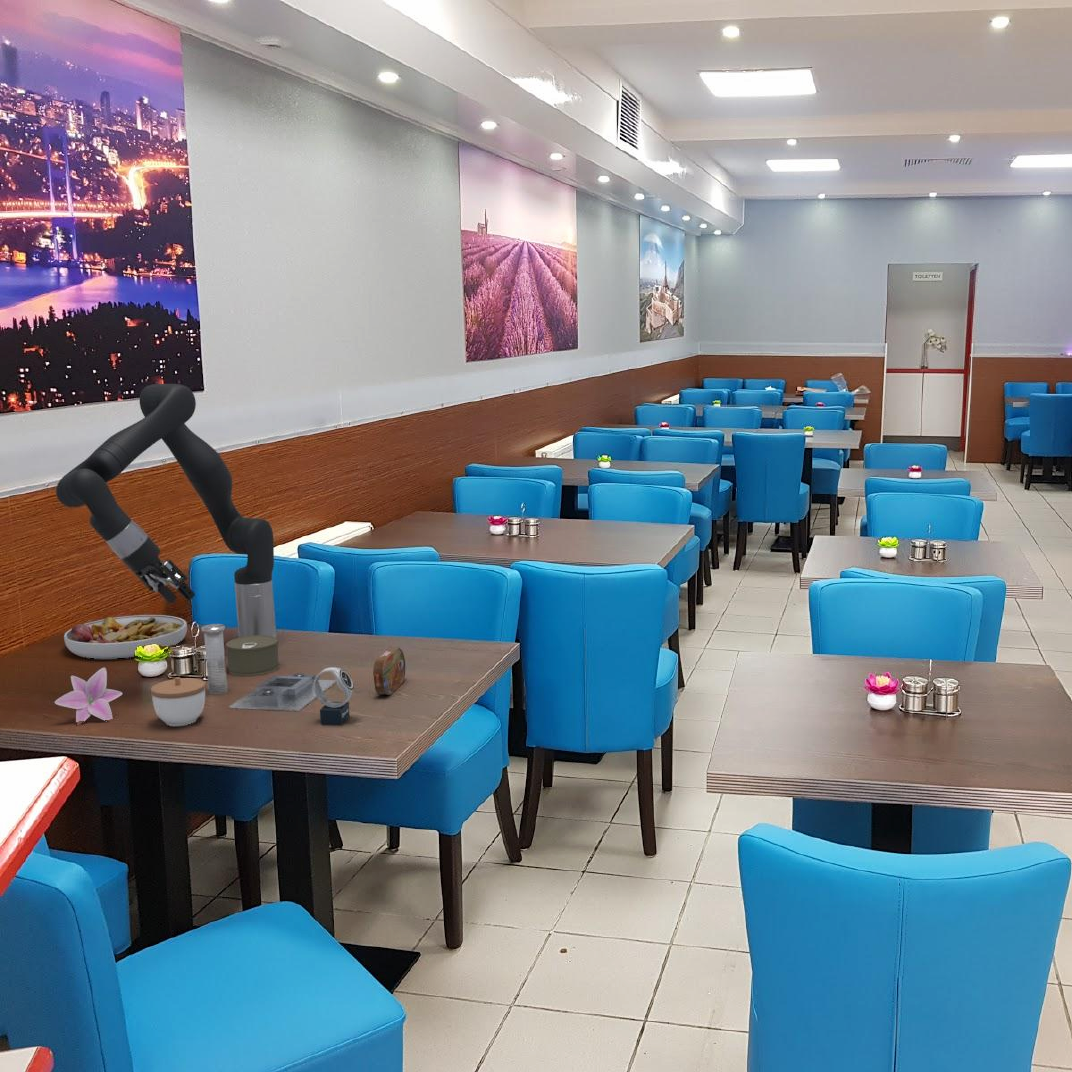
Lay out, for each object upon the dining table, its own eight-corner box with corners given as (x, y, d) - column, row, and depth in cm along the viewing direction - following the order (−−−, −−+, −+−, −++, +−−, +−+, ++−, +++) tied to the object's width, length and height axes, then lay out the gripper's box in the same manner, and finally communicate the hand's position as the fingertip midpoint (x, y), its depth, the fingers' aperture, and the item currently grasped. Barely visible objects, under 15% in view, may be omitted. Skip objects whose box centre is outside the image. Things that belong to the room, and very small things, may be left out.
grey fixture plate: (271, 679, 270) (270, 665, 269) (336, 682, 267) (335, 667, 266) (229, 708, 250) (228, 692, 249) (299, 711, 246) (298, 695, 246)
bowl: (161, 626, 324) (159, 599, 323) (207, 647, 302) (204, 617, 300) (49, 647, 306) (46, 618, 304) (89, 670, 283) (86, 639, 282)
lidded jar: (174, 733, 235) (171, 688, 233) (143, 724, 241) (139, 680, 239) (218, 719, 243) (215, 675, 241) (186, 710, 249) (183, 667, 248)
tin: (386, 700, 253) (384, 662, 251) (372, 699, 253) (370, 661, 252) (407, 679, 267) (405, 643, 266) (394, 679, 268) (392, 643, 266)
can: (284, 662, 285) (283, 634, 284) (272, 676, 273) (270, 647, 272) (235, 663, 285) (233, 635, 284) (221, 677, 273) (219, 649, 272)
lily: (49, 729, 243) (50, 696, 238) (74, 692, 253) (76, 659, 247) (105, 745, 243) (107, 712, 238) (129, 707, 253) (131, 675, 248)
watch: (350, 725, 237) (347, 672, 235) (312, 724, 238) (309, 672, 236) (358, 716, 242) (355, 665, 240) (321, 715, 243) (318, 664, 241)
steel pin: (213, 688, 265) (208, 623, 262) (233, 689, 264) (228, 624, 261) (202, 694, 260) (197, 629, 257) (223, 695, 259) (218, 629, 256)
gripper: (159, 530, 250) (209, 585, 256) (130, 537, 260) (178, 590, 267) (135, 554, 246) (186, 609, 252) (106, 560, 256) (156, 613, 262)
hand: (182, 599), depth 259 cm, fingers open, 8 cm apart
